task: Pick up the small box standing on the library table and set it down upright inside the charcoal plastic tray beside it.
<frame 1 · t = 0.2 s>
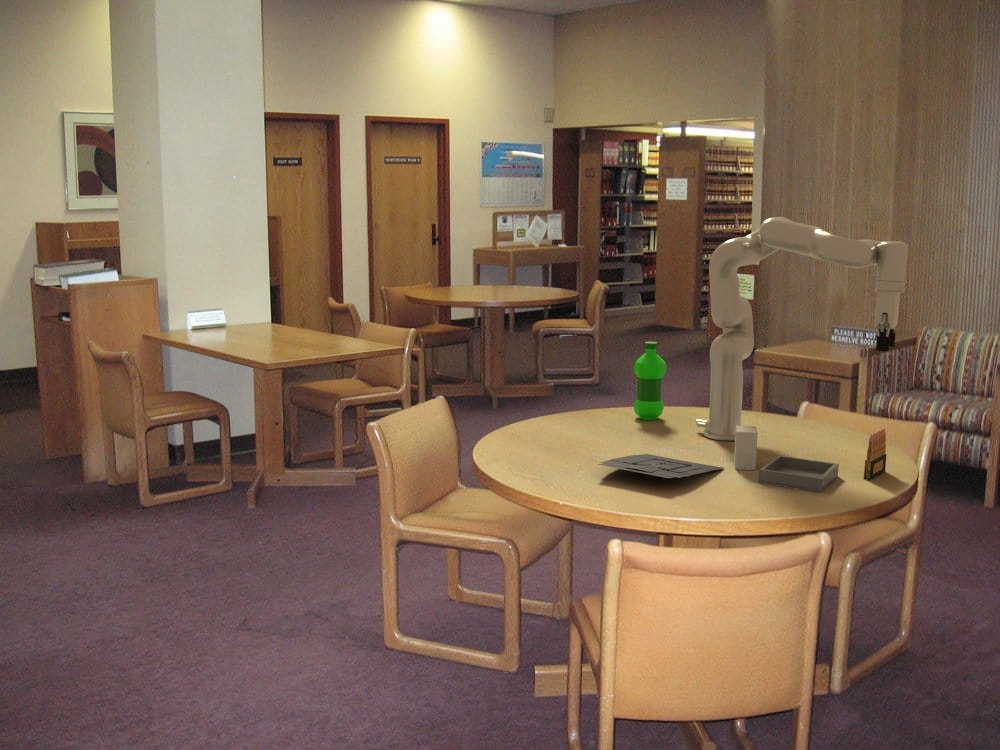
hand: (885, 348, 287), 31 cm above the table, fingers open, 9 cm apart
plastic bottle: (648, 418, 339), on the table
small box: (744, 467, 282), on the table
tray: (798, 479, 270), on the table
ammunition clip: (874, 476, 274), on the table
dark grey grooved panel: (659, 474, 275), on the table
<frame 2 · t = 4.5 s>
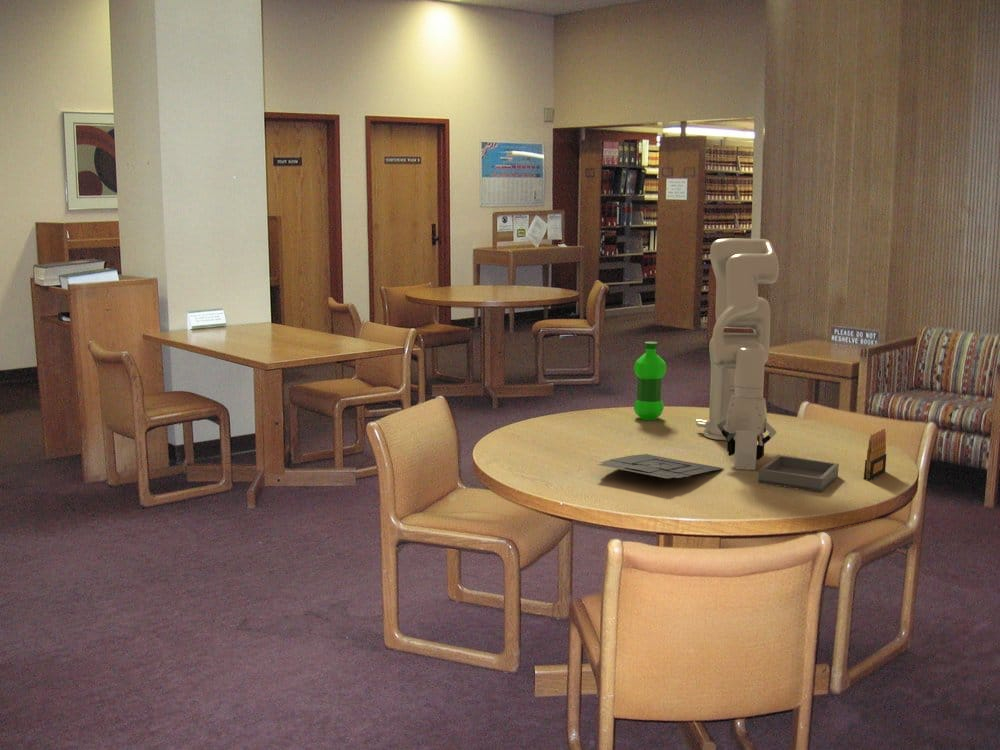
hand: (745, 456, 281), 3 cm above the table, fingers closed on small box, 7 cm apart
small box: (744, 467, 282), on the table, touching gripper
everything else where it was.
when the fingers open (5 cm above the table, at t = 11.9 s): small box drops 1 cm, resting on tray.
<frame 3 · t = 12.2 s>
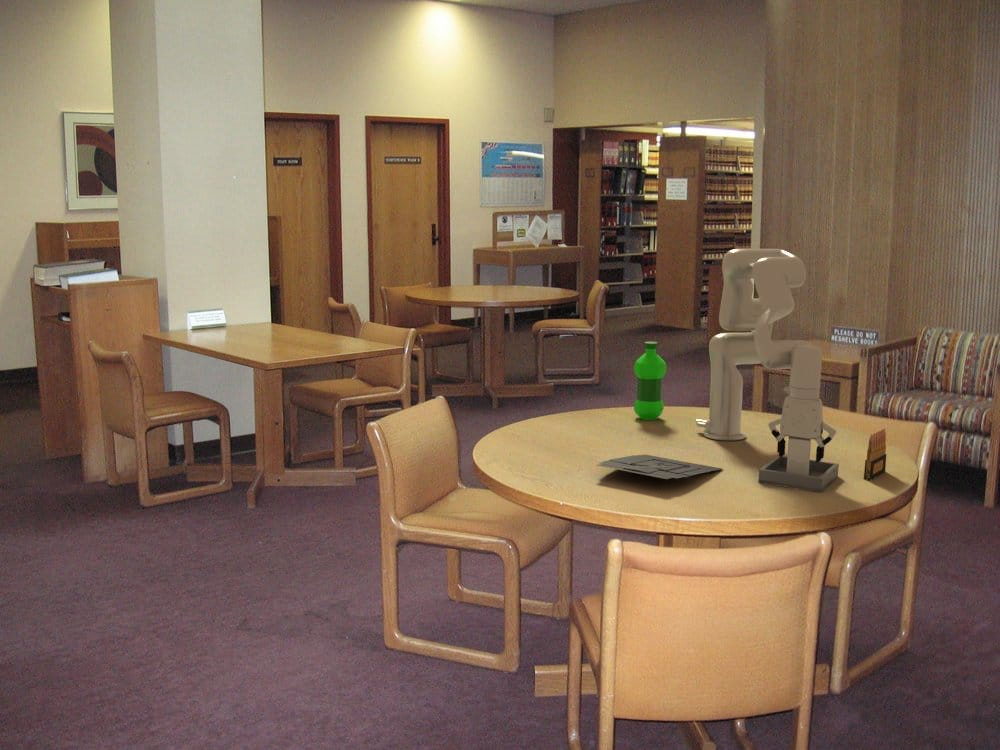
hand: (800, 458, 269), 6 cm above the table, fingers open, 9 cm apart
small box: (797, 477, 270), point 1 cm above the table, touching tray
everything else where it was.
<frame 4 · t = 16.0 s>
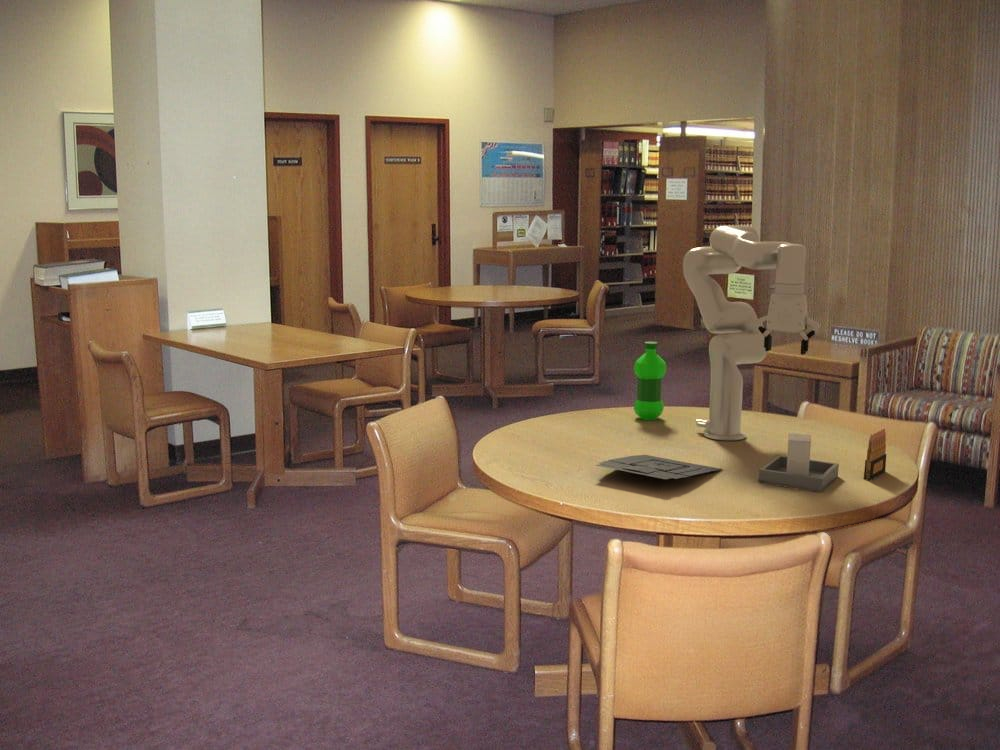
hand: (785, 352, 284), 30 cm above the table, fingers open, 9 cm apart
at the end: small box inside the target area on the tray (0.4 cm from its centre), point 0.6 cm above the tray's base; small box tilted 0°; the gripper is holding nothing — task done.
